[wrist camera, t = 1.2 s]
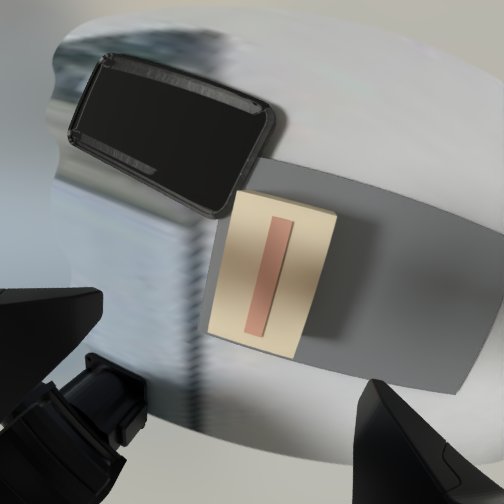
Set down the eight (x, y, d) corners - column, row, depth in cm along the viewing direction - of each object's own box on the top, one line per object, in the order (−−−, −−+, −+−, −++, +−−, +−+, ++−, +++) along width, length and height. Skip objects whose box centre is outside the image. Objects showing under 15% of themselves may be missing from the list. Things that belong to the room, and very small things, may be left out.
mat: (199, 327, 21) (197, 330, 21) (235, 152, 18) (233, 151, 18) (453, 391, 18) (455, 394, 18) (517, 242, 15) (521, 243, 15)
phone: (103, 50, 18) (281, 109, 16) (111, 54, 19) (283, 113, 17) (63, 142, 20) (221, 227, 18) (72, 142, 21) (226, 225, 20)
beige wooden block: (297, 334, 19) (292, 359, 16) (222, 312, 20) (206, 333, 17) (334, 211, 17) (337, 216, 14) (250, 189, 18) (236, 190, 15)
